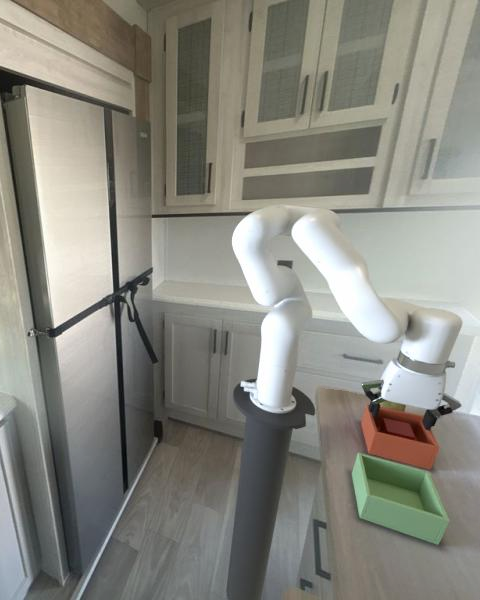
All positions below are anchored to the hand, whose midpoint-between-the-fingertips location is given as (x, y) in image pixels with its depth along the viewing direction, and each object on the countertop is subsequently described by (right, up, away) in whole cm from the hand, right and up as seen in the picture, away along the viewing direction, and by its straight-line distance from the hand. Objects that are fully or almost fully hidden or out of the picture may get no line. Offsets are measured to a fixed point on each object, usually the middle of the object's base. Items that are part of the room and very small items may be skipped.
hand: (398, 420), depth 81 cm
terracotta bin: (+1, -7, +3) cm, 8 cm away
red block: (+1, -7, +2) cm, 7 cm away
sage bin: (-12, -14, -11) cm, 22 cm away
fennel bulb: (+7, -3, +11) cm, 14 cm away
